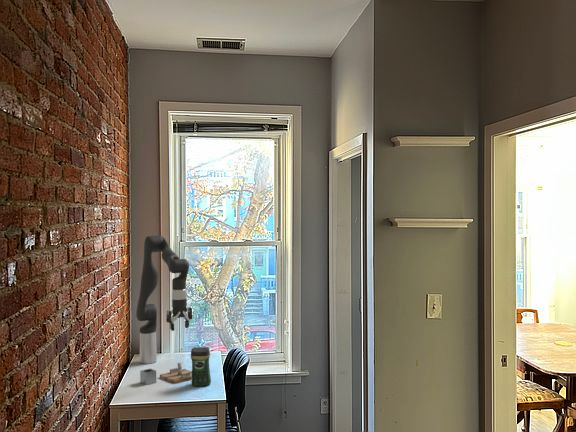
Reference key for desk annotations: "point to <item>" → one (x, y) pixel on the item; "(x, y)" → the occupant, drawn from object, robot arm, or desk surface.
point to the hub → (148, 376)
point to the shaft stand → (177, 375)
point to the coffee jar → (200, 366)
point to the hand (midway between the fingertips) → (179, 329)
